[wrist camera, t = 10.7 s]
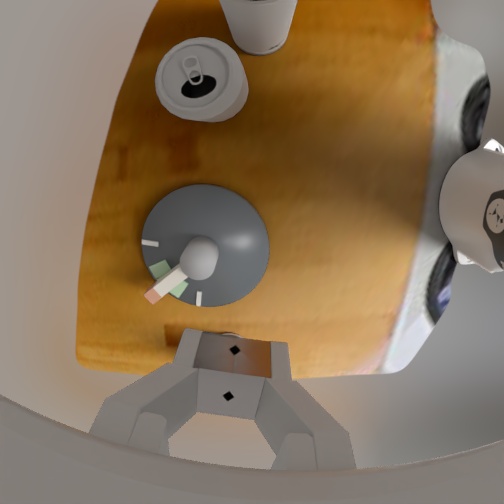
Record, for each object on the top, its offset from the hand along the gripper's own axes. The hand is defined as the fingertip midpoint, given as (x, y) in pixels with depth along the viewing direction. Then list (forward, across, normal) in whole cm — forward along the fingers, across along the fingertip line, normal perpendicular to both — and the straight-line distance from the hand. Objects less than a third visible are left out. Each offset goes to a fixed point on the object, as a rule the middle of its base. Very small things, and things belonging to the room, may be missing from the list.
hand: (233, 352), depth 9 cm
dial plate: (+29, +5, +9) cm, 31 cm away
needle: (+28, +7, +11) cm, 31 cm away
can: (+29, +6, -10) cm, 32 cm away
